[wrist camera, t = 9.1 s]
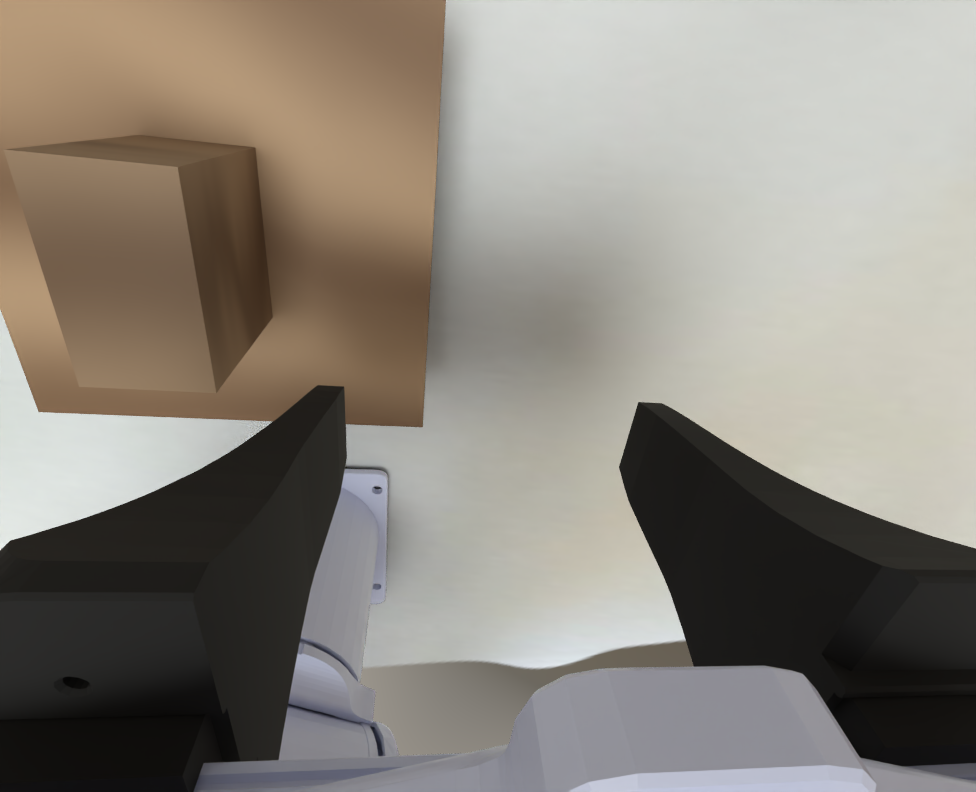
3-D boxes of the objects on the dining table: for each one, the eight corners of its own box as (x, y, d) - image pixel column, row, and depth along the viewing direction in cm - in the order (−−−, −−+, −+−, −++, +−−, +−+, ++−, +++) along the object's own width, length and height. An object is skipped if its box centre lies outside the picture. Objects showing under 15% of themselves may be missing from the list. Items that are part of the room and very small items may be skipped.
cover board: (422, 418, 20) (419, 521, 15) (50, 403, 18) (-91, 513, 13) (445, -2, 13) (452, -60, 9) (-126, -88, 12) (-519, -222, 7)
